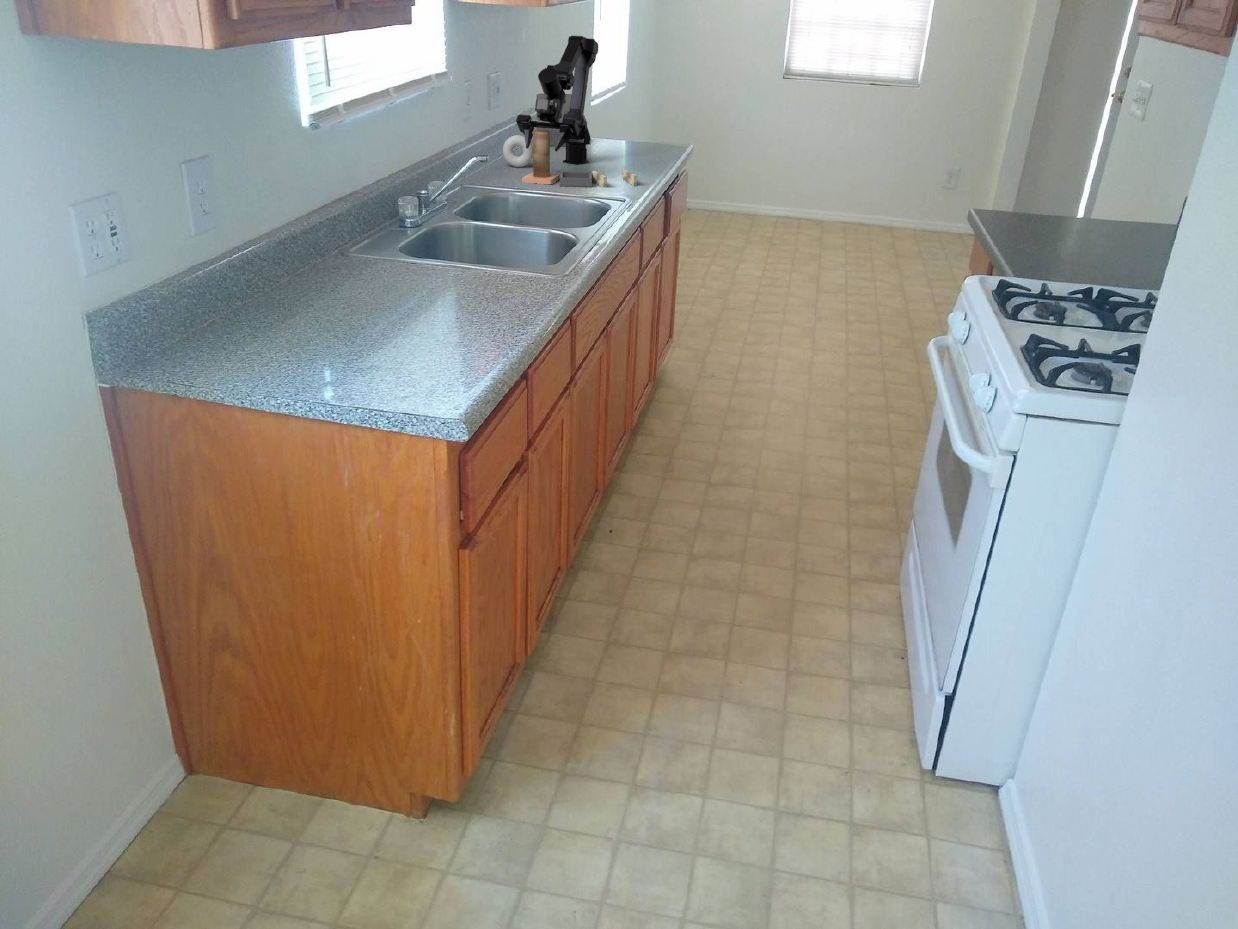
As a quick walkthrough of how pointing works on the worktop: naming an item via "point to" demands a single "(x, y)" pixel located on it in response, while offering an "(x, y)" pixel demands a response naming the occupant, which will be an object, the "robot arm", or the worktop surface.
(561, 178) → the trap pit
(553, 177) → the pad
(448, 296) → the worktop surface
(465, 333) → the worktop surface
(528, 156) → the donut
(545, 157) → the walnut post
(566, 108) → the flask
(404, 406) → the worktop surface
